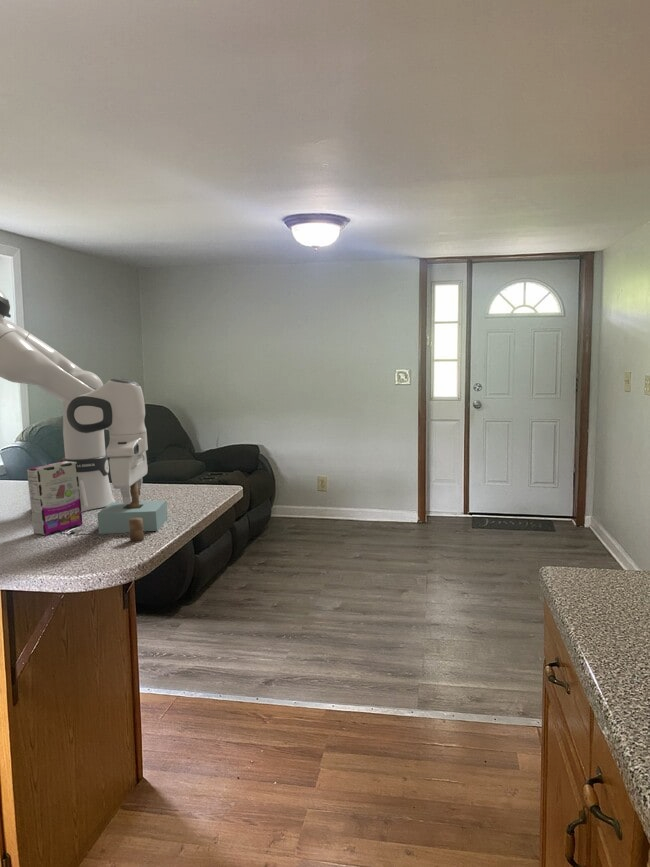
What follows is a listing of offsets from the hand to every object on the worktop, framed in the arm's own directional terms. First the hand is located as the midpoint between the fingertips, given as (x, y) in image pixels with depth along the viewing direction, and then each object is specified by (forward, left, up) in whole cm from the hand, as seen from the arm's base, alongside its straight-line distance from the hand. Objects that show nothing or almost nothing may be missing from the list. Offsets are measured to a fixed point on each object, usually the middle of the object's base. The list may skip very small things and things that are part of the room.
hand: (132, 499), depth 163 cm
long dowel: (0, 0, -7) cm, 7 cm away
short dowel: (+4, -13, -7) cm, 15 cm away
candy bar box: (-19, 0, -7) cm, 20 cm away
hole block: (0, 0, -7) cm, 7 cm away
